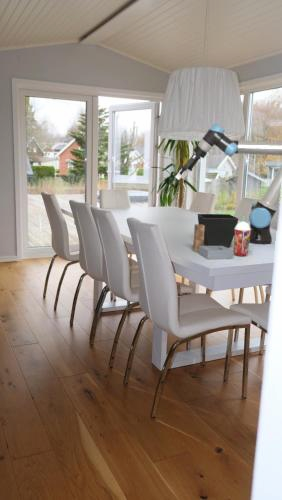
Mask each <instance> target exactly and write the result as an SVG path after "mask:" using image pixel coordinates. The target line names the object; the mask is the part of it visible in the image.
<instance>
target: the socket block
mask: <svg viewBox="0 0 282 500" xmlns="http://www.w3.org/2000/svg"><path fill="white" fill-rule="evenodd" d="M197 254H198V255H200V256H202V257H203V258H204V259H206V260H233V259H234V250H232V249H230V248H229V247H224V246H205V245H203V246H199V252H197Z"/></svg>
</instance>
